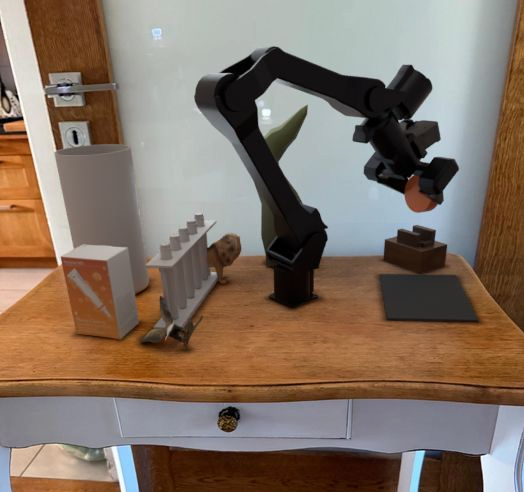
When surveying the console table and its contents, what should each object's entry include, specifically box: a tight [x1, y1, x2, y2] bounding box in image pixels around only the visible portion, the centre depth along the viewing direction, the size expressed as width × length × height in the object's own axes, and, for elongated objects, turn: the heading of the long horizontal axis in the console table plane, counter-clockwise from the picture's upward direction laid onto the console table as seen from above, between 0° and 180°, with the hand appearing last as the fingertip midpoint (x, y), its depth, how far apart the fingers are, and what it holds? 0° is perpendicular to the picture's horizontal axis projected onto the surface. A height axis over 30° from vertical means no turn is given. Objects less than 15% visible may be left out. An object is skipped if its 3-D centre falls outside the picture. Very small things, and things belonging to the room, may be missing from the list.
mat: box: [379, 273, 479, 323], centre depth 96 cm, size 20×14×1 cm
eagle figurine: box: [140, 295, 204, 351], centre depth 83 cm, size 8×7×9 cm
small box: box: [60, 244, 140, 340], centre depth 86 cm, size 8×6×13 cm
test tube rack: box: [145, 212, 219, 329], centre depth 95 cm, size 25×4×13 cm, turn 169°
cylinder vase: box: [53, 143, 150, 295], centre depth 99 cm, size 12×12×25 cm
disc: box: [403, 175, 439, 214], centre depth 104 cm, size 2×7×7 cm, turn 31°
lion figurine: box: [206, 232, 242, 285], centre depth 105 cm, size 15×5×9 cm, turn 94°
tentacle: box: [253, 104, 309, 268], centre depth 107 cm, size 9×12×30 cm
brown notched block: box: [382, 224, 448, 275], centre depth 110 cm, size 7×10×7 cm
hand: (426, 199), depth 105 cm, fingers closed on disc, 7 cm apart
